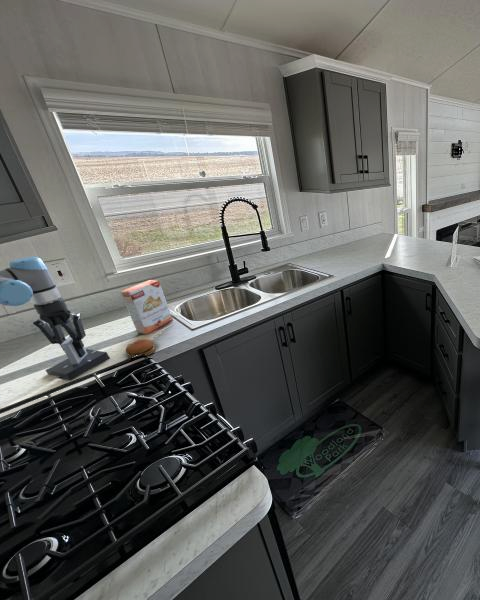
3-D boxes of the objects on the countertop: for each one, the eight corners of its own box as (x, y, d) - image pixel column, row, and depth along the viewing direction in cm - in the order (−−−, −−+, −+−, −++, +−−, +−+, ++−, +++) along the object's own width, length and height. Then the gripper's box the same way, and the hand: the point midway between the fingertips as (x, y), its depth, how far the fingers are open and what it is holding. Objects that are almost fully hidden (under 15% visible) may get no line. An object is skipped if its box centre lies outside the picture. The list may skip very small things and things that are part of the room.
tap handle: (78, 363, 123) (66, 342, 119) (72, 364, 122) (60, 344, 118) (87, 353, 129) (77, 333, 125) (81, 354, 128) (70, 334, 124)
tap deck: (70, 380, 118) (66, 373, 117) (49, 376, 121) (44, 369, 120) (110, 358, 130) (107, 351, 129) (89, 355, 133) (86, 348, 132)
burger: (158, 352, 133) (154, 342, 131) (130, 362, 127) (125, 352, 125) (154, 343, 140) (150, 334, 138) (127, 352, 134) (122, 343, 132)
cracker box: (147, 334, 146) (129, 292, 137) (137, 333, 148) (118, 291, 139) (174, 319, 159) (159, 280, 150) (164, 318, 160) (148, 279, 151)
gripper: (79, 293, 120) (106, 346, 130) (27, 300, 116) (59, 355, 126) (68, 301, 113) (97, 357, 124) (12, 309, 109) (47, 366, 119)
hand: (78, 356), depth 125 cm, fingers closed on tap handle, 2 cm apart
